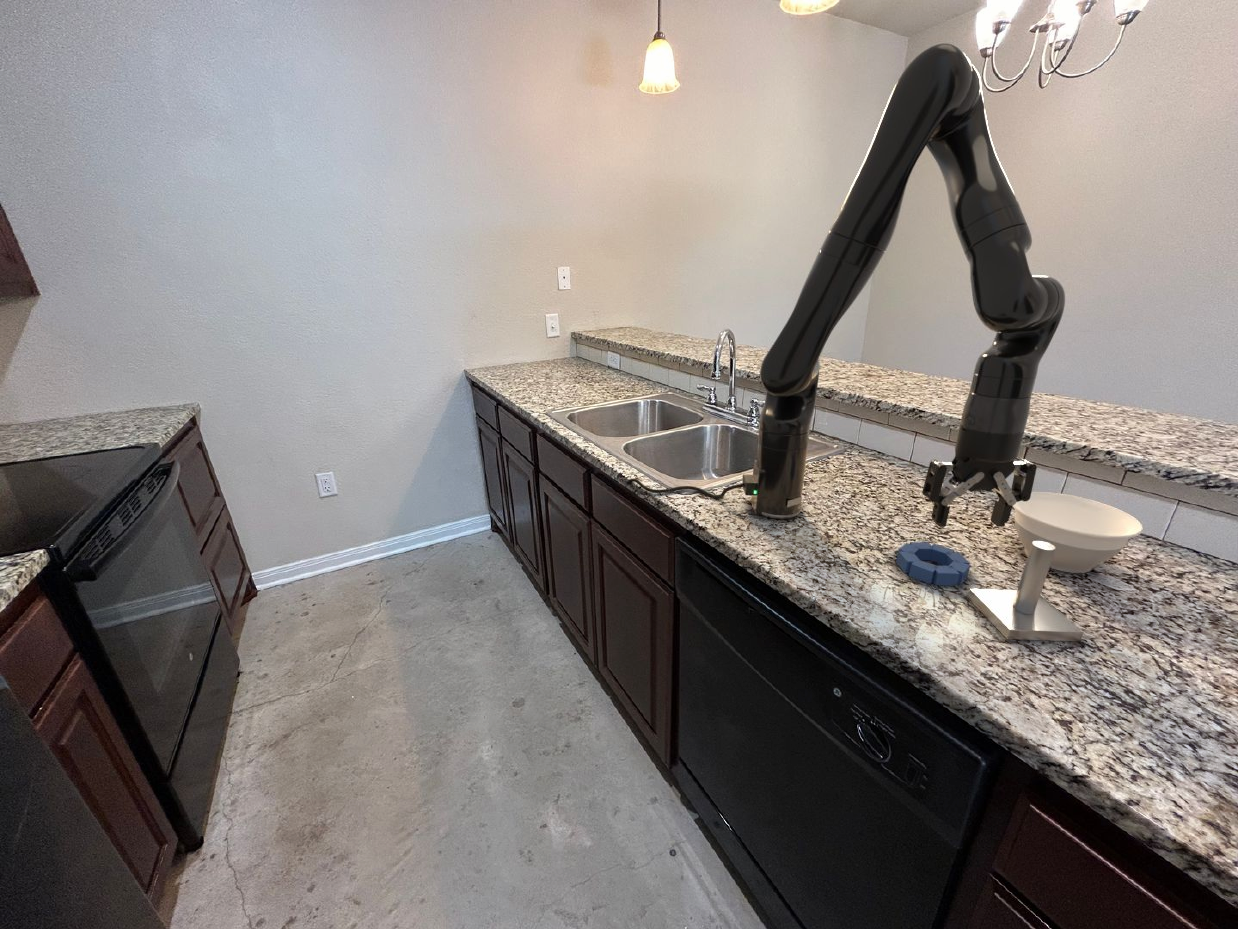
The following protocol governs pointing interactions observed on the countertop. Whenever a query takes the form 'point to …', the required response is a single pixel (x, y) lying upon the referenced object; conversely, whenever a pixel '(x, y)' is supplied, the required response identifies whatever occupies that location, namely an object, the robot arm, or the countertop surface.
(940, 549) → the ring
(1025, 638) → the metal peg stand
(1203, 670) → the countertop surface
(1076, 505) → the bowl
